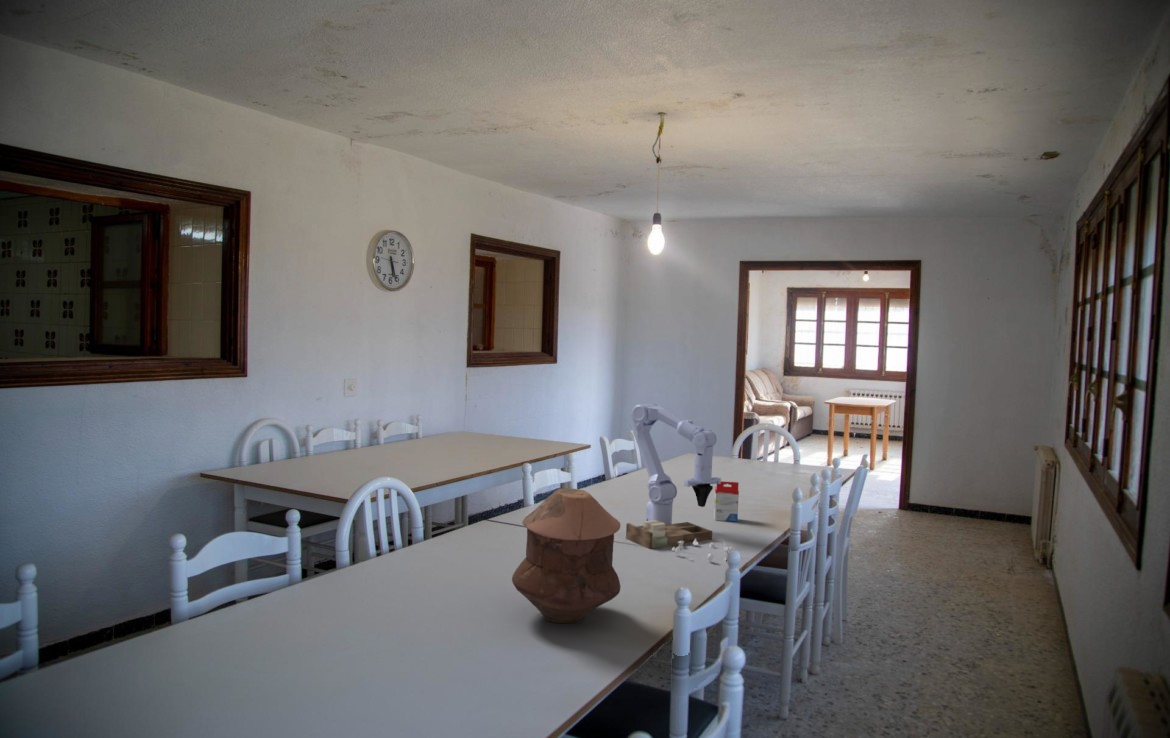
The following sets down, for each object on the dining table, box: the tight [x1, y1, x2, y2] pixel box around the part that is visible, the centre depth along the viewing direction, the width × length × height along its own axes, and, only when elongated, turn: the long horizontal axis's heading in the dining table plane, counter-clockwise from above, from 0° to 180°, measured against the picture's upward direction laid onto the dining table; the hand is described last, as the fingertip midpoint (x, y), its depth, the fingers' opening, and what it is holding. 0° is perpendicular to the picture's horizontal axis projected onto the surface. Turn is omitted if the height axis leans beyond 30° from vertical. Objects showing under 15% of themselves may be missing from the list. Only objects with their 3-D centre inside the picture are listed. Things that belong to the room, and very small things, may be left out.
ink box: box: [713, 480, 740, 523], centre depth 284 cm, size 8×5×15 cm, turn 84°
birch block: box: [642, 520, 665, 538], centre depth 247 cm, size 5×5×4 cm
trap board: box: [625, 521, 713, 550], centre depth 254 cm, size 15×26×5 cm, turn 122°
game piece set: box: [671, 539, 734, 564], centre depth 238 cm, size 19×20×4 cm
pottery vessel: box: [511, 487, 621, 624], centre depth 180 cm, size 26×26×30 cm
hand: (701, 506), depth 258 cm, fingers closed
